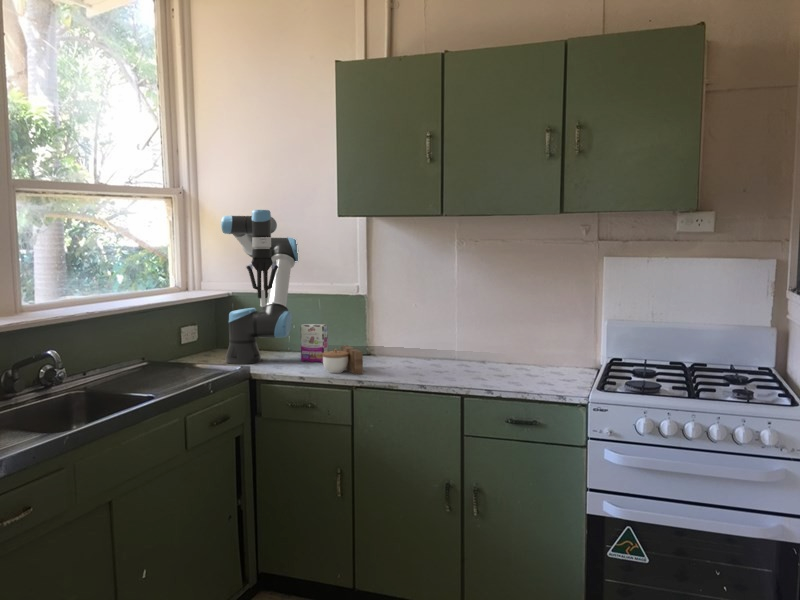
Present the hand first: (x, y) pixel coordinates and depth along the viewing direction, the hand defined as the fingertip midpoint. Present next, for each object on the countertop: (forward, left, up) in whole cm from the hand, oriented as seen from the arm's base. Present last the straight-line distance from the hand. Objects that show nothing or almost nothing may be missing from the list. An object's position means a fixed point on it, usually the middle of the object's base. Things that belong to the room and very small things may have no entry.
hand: (262, 306), depth 264 cm
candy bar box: (-12, +25, -27) cm, 38 cm away
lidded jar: (+15, +26, -27) cm, 40 cm away
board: (+15, +33, -26) cm, 45 cm away
